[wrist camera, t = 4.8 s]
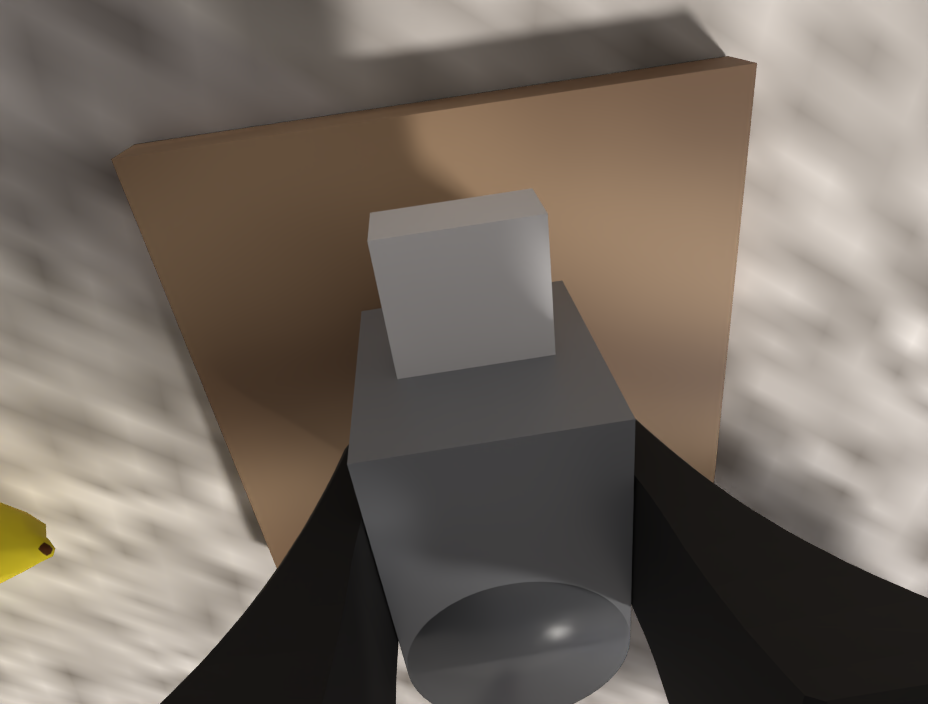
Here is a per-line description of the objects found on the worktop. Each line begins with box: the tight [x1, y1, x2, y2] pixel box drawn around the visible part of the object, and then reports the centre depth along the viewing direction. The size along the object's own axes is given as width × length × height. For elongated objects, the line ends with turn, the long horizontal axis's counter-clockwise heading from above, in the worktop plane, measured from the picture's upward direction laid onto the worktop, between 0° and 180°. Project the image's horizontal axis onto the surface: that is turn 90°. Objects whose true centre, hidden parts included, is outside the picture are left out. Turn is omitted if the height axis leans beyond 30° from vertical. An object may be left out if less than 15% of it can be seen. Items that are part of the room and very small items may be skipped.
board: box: [111, 56, 757, 568], centre depth 15 cm, size 12×12×1 cm
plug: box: [347, 188, 635, 704], centre depth 12 cm, size 9×4×4 cm, turn 7°
